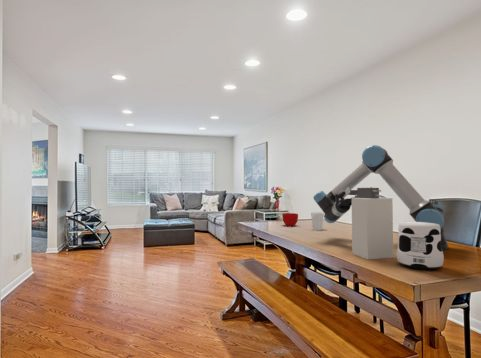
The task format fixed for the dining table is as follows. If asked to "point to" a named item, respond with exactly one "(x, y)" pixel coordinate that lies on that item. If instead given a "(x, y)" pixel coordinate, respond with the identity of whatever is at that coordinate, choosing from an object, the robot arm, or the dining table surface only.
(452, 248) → the dining table surface
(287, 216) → the ceramic cup
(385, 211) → the pillar
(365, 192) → the plug
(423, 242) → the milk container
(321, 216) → the foam cup
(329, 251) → the dining table surface
